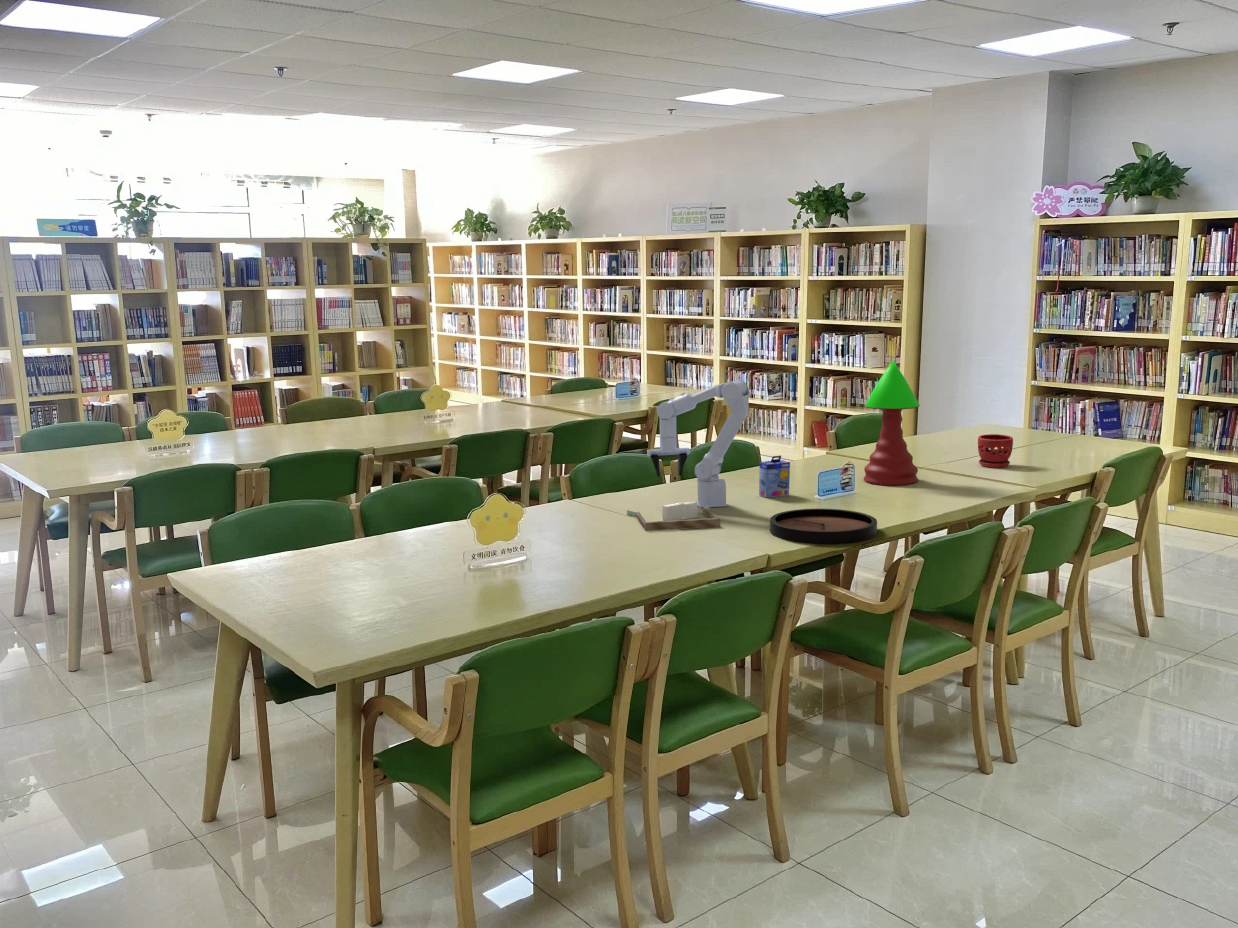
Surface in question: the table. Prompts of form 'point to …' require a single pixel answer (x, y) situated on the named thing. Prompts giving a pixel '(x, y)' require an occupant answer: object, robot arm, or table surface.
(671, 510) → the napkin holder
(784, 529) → the wall clock
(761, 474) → the ink cartridge box
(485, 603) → the table surface
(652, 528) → the napkin dock
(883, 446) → the table lamp
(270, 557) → the table surface
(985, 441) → the plant pot
